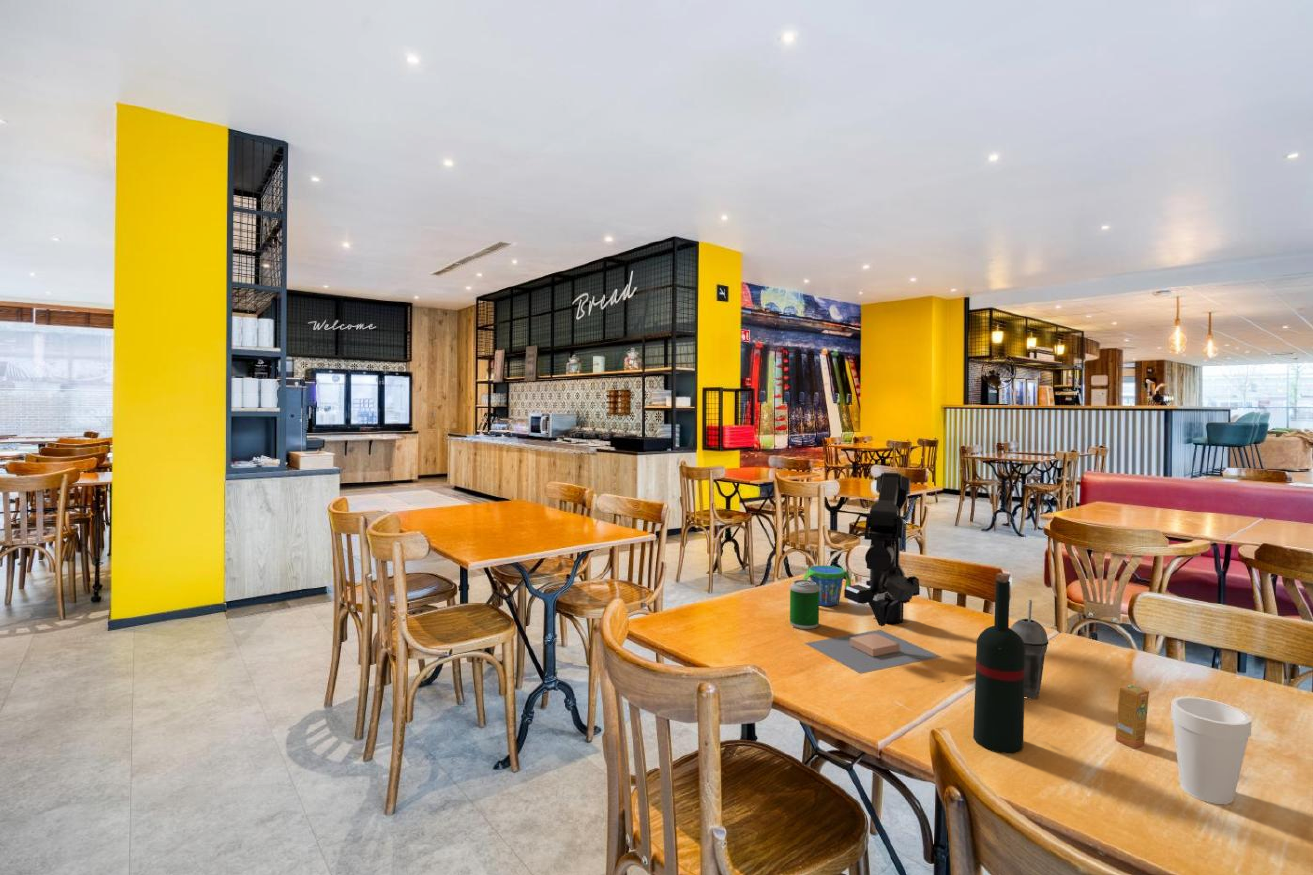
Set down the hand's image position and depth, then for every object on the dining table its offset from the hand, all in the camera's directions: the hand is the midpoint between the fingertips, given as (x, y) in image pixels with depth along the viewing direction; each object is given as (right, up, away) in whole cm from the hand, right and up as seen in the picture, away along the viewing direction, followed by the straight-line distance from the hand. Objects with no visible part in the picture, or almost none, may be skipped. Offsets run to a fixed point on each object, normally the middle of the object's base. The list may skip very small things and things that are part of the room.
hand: (881, 625), depth 162 cm
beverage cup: (+22, -8, -24) cm, 33 cm away
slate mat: (-3, -6, -1) cm, 7 cm away
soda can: (-15, -5, +17) cm, 23 cm away
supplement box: (+29, -9, -43) cm, 53 cm away
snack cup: (-4, -4, +38) cm, 38 cm away
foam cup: (+30, -10, -58) cm, 66 cm away
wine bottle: (+7, -9, -42) cm, 44 cm away
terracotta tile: (+2, -4, +1) cm, 5 cm away
